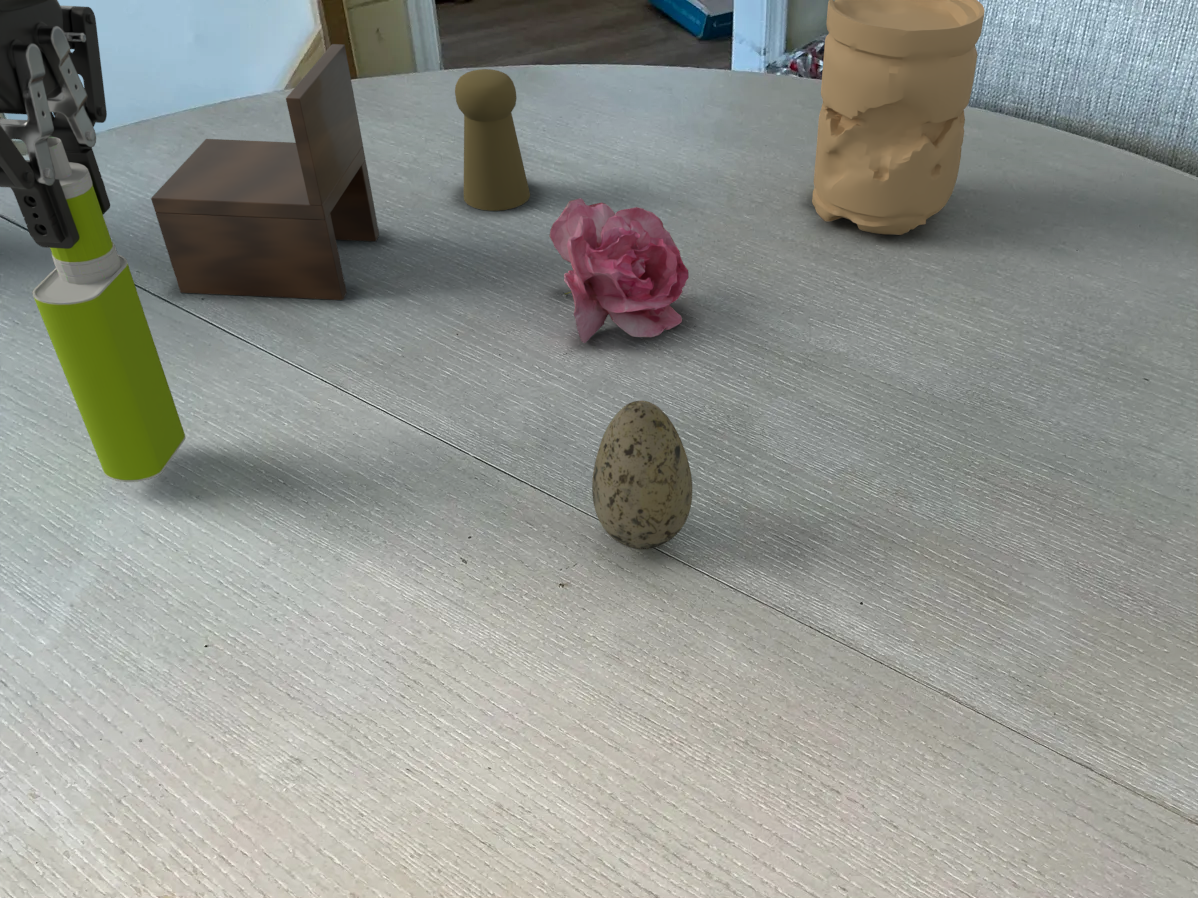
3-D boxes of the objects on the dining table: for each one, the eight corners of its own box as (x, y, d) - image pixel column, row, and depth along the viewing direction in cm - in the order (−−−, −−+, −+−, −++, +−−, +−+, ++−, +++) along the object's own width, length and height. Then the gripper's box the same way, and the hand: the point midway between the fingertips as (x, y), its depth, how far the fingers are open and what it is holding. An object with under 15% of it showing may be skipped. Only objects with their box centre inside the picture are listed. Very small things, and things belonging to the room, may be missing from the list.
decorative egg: (616, 582, 70) (610, 447, 63) (581, 522, 74) (571, 389, 67) (707, 555, 72) (710, 421, 65) (668, 498, 76) (667, 366, 69)
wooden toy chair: (180, 292, 93) (116, 90, 83) (230, 228, 101) (178, 37, 91) (342, 300, 93) (299, 98, 82) (379, 235, 101) (344, 44, 91)
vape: (193, 427, 77) (96, 129, 64) (154, 484, 73) (41, 177, 60) (138, 423, 77) (29, 125, 64) (95, 479, 73) (-31, 172, 60)
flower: (698, 350, 95) (712, 297, 85) (577, 376, 93) (577, 324, 83) (663, 224, 97) (672, 158, 87) (544, 246, 95) (540, 181, 85)
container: (784, 201, 108) (797, -6, 96) (889, 172, 113) (914, -28, 101) (870, 258, 100) (896, 40, 88) (979, 223, 105) (1018, 13, 93)
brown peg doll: (485, 217, 104) (470, 92, 97) (451, 192, 108) (434, 71, 100) (543, 198, 107) (533, 76, 100) (507, 175, 111) (495, 56, 103)
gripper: (-47, -153, 60) (67, 171, 71) (-229, -77, 49) (-60, 288, 61) (98, -146, 60) (190, 177, 71) (-52, -68, 49) (84, 296, 61)
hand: (74, 227), depth 66 cm, fingers closed on vape, 3 cm apart
